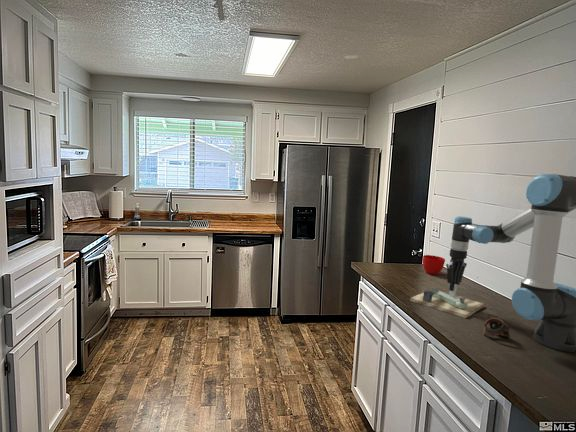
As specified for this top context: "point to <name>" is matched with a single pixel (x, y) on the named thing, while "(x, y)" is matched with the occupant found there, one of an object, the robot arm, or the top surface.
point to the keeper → (429, 294)
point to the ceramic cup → (433, 264)
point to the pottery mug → (496, 327)
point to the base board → (450, 305)
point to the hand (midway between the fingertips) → (451, 297)
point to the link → (451, 300)
